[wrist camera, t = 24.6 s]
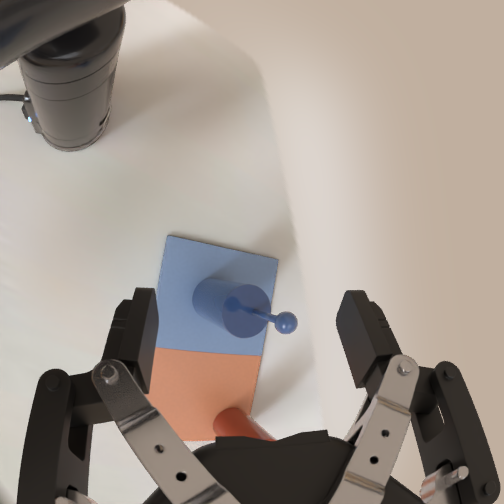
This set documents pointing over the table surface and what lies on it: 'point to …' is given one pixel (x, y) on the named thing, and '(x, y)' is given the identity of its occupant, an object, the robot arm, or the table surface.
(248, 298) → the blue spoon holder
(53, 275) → the table surface
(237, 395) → the sorting board
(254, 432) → the terracotta spoon holder
